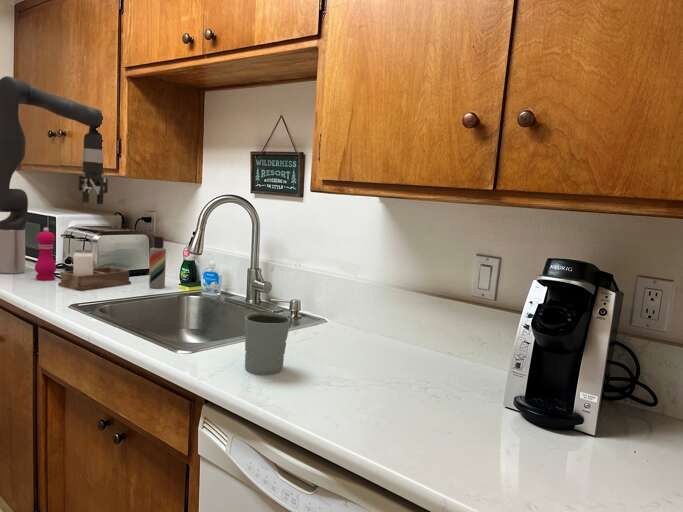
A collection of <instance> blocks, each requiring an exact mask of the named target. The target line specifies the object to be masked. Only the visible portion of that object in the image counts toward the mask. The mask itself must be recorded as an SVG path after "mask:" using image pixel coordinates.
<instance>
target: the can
mask: <svg viewBox="0 0 683 512" xmlns="http://www.w3.org/2000/svg"><path fill="white" fill-rule="evenodd" d="M93 268H94V254H93V250H89V249H77V250H75V251H74V254H73V270H72V271H73V274H75V275H79V276H85V275H93Z"/></svg>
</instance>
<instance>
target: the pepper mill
mask: <svg viewBox="0 0 683 512" xmlns="http://www.w3.org/2000/svg"><path fill="white" fill-rule="evenodd" d="M42 230H43V231H41V232H39V233H38V234H37V235H36V241H37V242H38V247H37V248H38V249H39V253H38V258H37V260H36V262H35V265H34V271H35V272H36V273H37V274H36V277H35V279H36V280H37V281H45V282H46V281H48V282H49V281H54V280H55V279H56V274H55V272H56V271H57V263H56V262H55V259H54V256H53V249H54V244H53V243H54V242H55V240H56V238H55V235H54V233H52V232H51V231H50V230H49V228H48V227H44V228H43V229H42Z"/></svg>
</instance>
